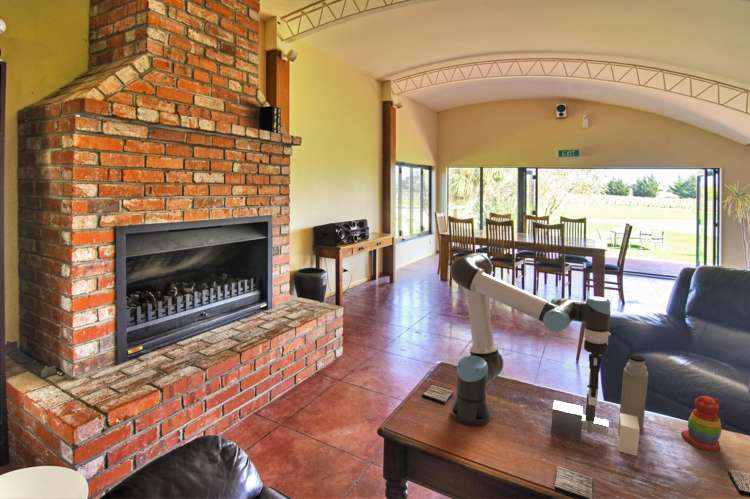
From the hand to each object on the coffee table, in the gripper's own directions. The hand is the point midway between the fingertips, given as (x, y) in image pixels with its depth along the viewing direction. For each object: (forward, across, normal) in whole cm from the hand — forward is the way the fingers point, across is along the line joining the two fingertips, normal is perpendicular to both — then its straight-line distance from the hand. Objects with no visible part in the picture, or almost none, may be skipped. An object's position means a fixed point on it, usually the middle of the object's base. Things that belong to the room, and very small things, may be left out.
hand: (592, 396), depth 151 cm
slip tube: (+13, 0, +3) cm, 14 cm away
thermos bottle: (+17, +16, -14) cm, 27 cm away
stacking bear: (+17, +15, -36) cm, 43 cm away
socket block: (+16, 0, -12) cm, 20 cm away
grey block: (+16, 0, +8) cm, 18 cm away
